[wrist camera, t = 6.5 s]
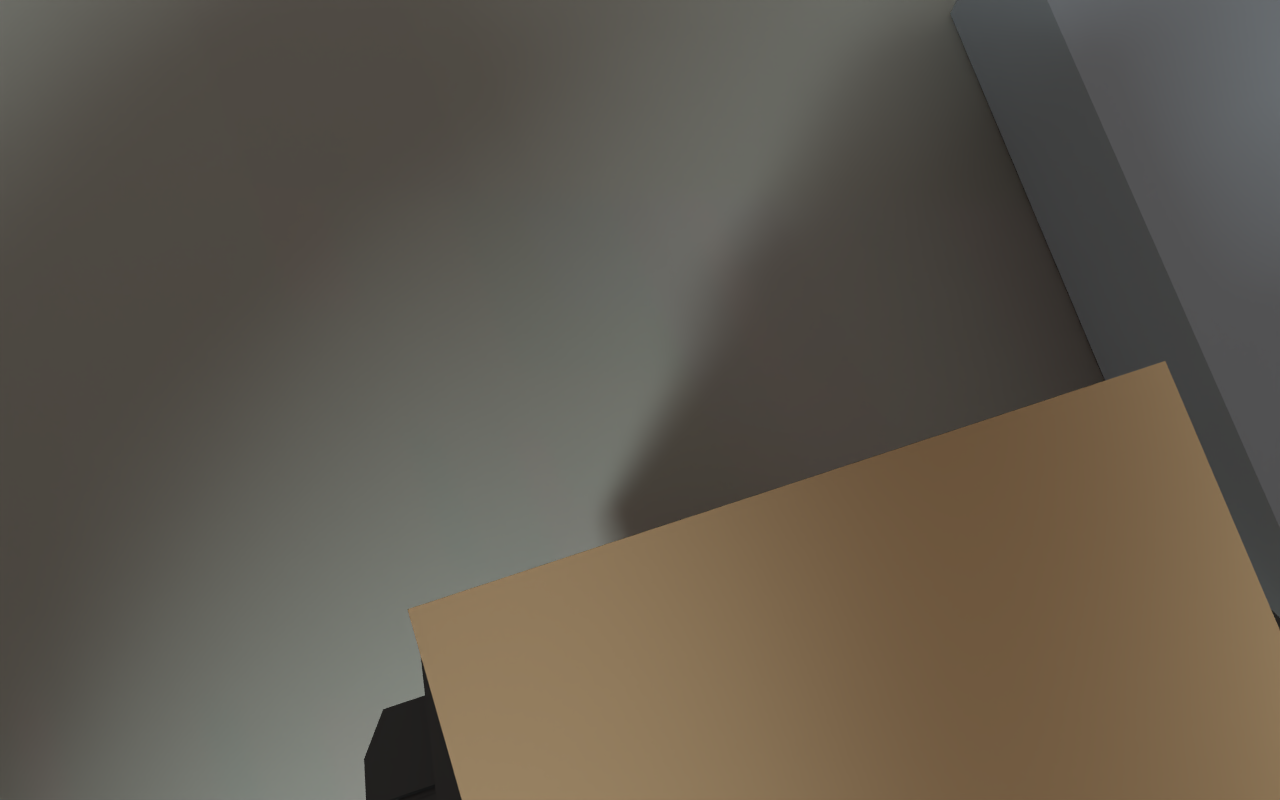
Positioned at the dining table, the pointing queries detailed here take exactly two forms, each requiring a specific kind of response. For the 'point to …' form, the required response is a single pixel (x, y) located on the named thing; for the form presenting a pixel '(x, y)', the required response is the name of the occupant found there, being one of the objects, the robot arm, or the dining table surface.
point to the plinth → (1159, 204)
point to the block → (893, 632)
